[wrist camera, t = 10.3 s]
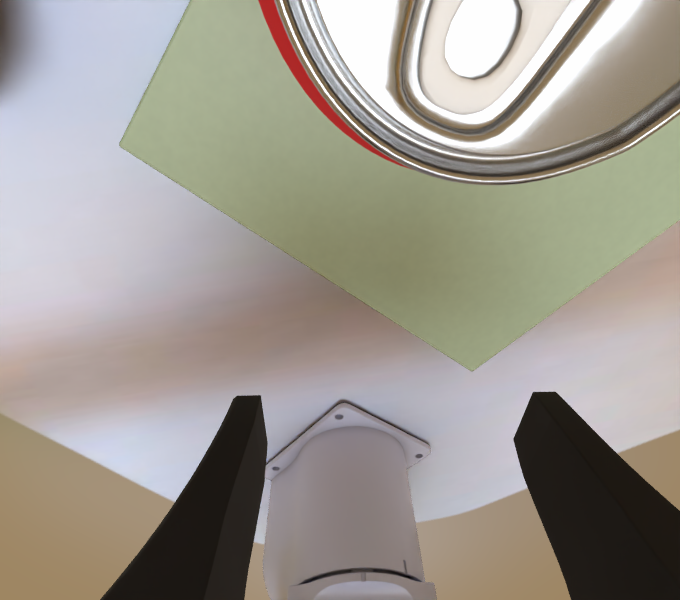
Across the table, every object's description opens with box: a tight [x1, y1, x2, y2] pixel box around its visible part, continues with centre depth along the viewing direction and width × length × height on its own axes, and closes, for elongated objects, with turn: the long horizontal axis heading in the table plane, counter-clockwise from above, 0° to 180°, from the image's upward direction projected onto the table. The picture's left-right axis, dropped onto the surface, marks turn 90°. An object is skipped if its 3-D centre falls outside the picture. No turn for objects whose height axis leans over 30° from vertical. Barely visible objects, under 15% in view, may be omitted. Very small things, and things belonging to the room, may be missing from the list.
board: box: [119, 0, 680, 371], centre depth 17 cm, size 14×20×1 cm
